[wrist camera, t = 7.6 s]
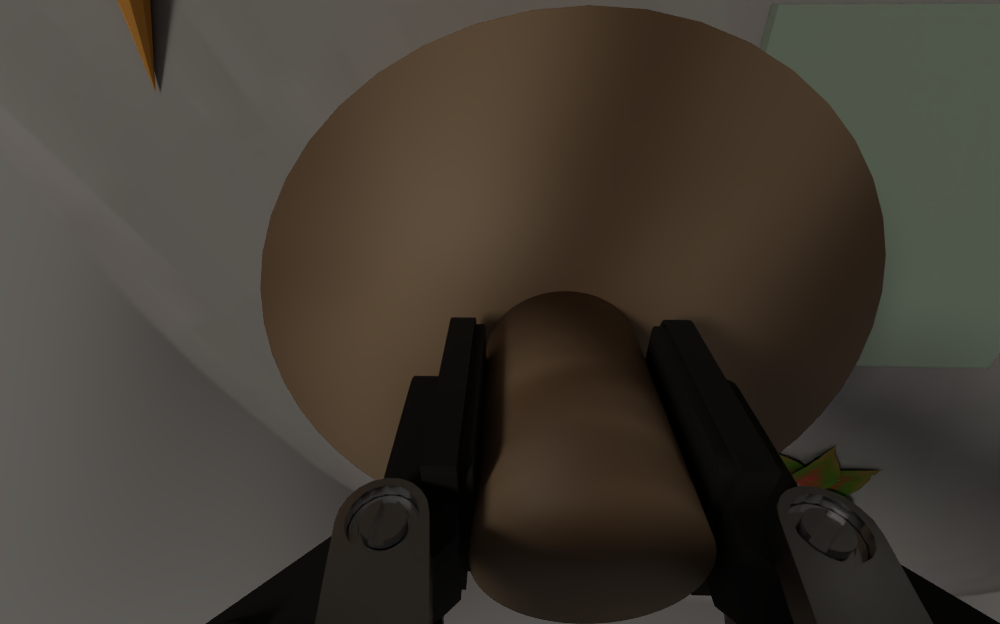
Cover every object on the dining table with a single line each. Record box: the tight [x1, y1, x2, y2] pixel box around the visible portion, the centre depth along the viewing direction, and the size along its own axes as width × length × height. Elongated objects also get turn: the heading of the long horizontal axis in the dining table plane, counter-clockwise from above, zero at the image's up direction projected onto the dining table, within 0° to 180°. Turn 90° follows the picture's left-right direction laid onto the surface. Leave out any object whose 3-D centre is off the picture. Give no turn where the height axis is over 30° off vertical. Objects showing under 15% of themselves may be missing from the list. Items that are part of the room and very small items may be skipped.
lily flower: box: [780, 445, 881, 501], centre depth 34 cm, size 12×12×5 cm
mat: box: [760, 3, 1000, 368], centre depth 23 cm, size 18×18×1 cm
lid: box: [261, 5, 886, 624], centre depth 9 cm, size 14×14×6 cm
